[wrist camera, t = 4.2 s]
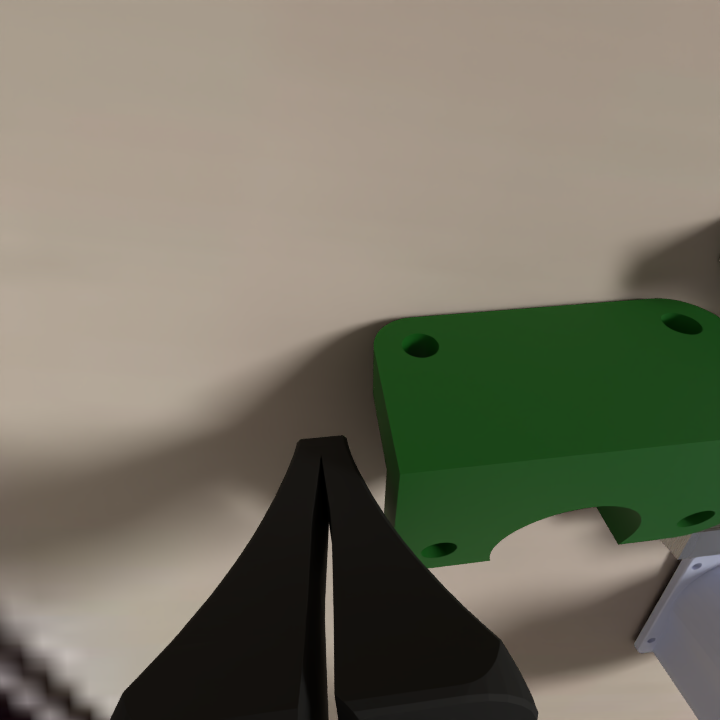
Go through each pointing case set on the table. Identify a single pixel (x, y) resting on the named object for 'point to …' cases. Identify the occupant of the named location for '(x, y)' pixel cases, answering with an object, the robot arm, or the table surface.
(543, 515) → the clamp
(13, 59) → the table surface
